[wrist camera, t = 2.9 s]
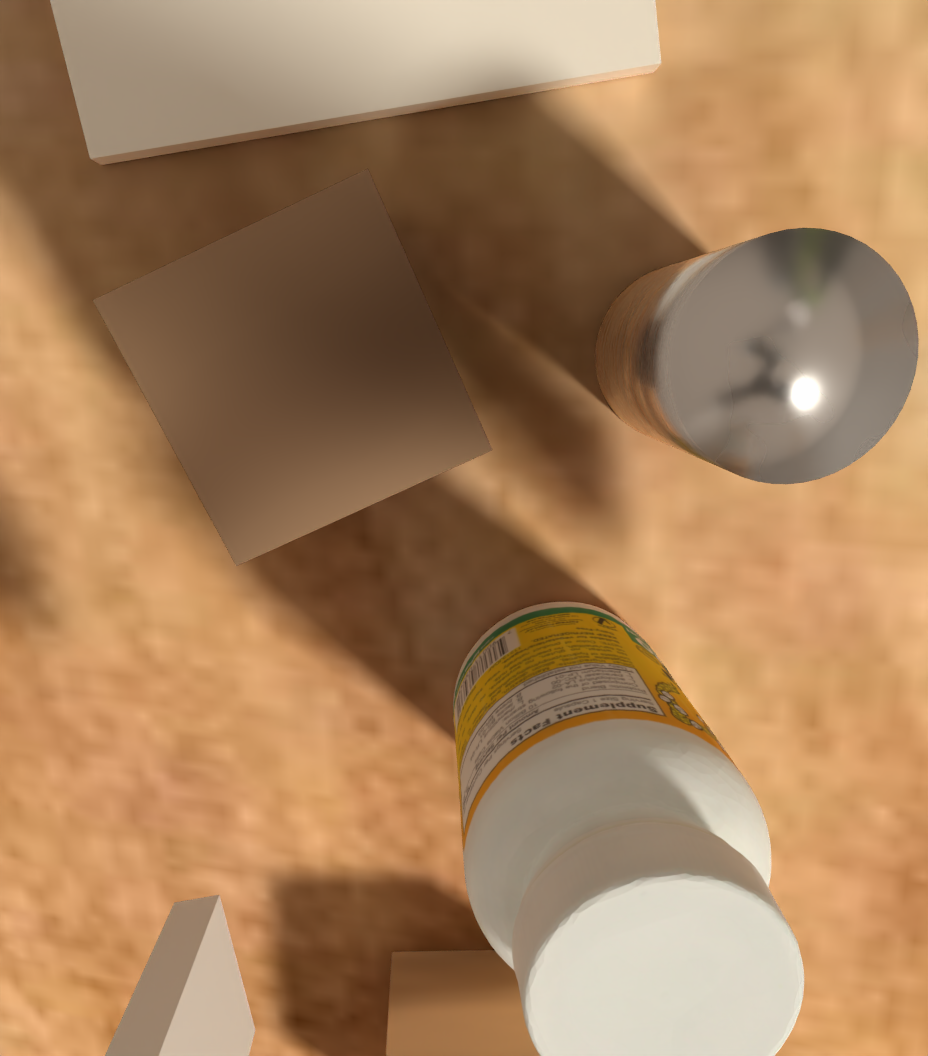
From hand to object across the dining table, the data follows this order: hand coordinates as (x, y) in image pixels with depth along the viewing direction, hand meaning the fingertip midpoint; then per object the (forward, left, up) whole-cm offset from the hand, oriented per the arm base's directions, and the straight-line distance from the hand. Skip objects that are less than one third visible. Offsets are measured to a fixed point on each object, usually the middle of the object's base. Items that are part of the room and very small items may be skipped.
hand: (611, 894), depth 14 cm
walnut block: (-9, -4, -7) cm, 12 cm away
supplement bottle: (0, 0, -7) cm, 7 cm away
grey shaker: (-8, +4, -7) cm, 12 cm away
